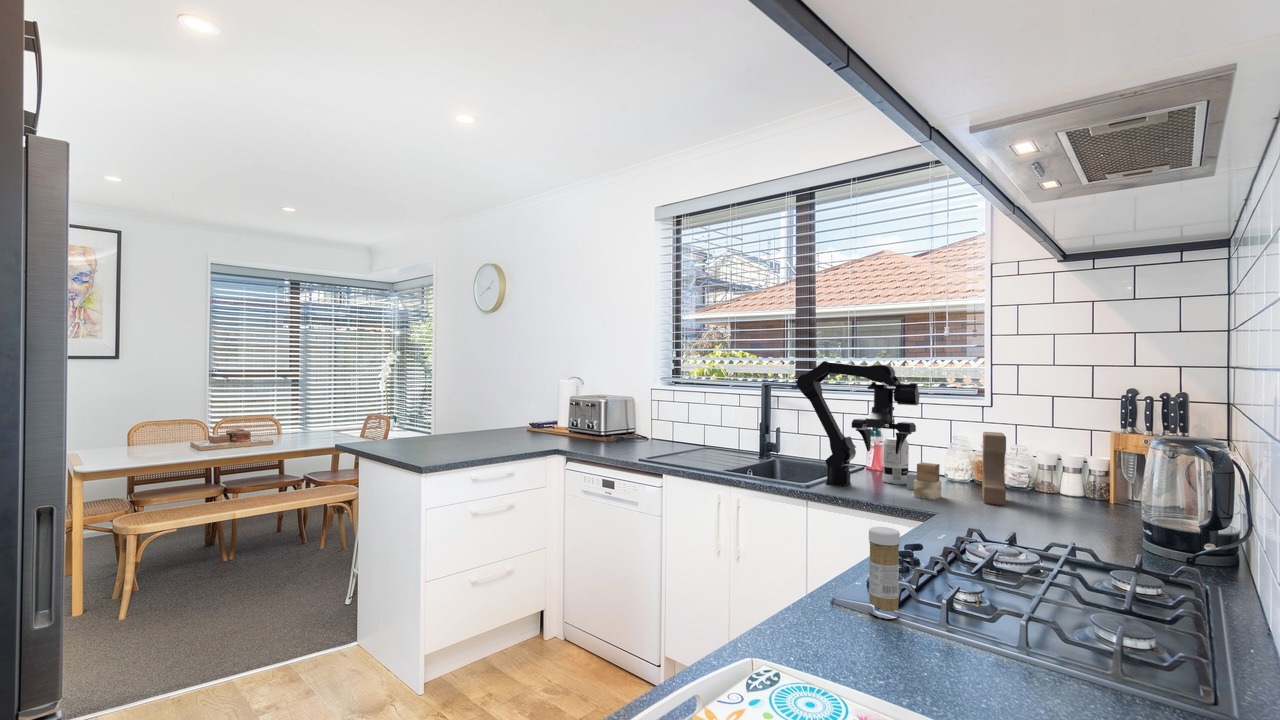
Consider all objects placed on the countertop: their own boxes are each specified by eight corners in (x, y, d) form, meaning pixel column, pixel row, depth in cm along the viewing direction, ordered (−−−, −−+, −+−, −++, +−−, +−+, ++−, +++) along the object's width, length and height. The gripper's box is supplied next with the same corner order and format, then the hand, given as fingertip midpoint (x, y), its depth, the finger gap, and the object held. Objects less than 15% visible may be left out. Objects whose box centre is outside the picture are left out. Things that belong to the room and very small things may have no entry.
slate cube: (906, 489, 199) (906, 474, 199) (908, 487, 204) (908, 471, 204) (923, 491, 197) (923, 475, 197) (924, 488, 201) (925, 473, 201)
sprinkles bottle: (896, 611, 99) (897, 526, 99) (901, 622, 94) (902, 534, 94) (866, 608, 100) (866, 524, 100) (870, 619, 95) (870, 532, 95)
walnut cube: (922, 478, 192) (922, 462, 192) (939, 480, 188) (939, 464, 188) (916, 480, 188) (916, 464, 188) (934, 482, 185) (934, 466, 185)
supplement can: (877, 480, 214) (878, 437, 214) (900, 480, 215) (900, 437, 215) (889, 484, 206) (890, 440, 206) (913, 484, 207) (913, 440, 207)
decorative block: (1005, 506, 177) (1006, 436, 177) (982, 503, 179) (983, 434, 179) (1003, 498, 186) (1004, 432, 187) (982, 496, 189) (982, 431, 189)
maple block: (913, 496, 188) (913, 480, 188) (920, 494, 192) (920, 478, 192) (934, 500, 184) (934, 483, 184) (940, 497, 188) (941, 480, 188)
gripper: (844, 403, 198) (843, 451, 198) (903, 406, 186) (902, 458, 186) (859, 401, 207) (858, 448, 206) (916, 405, 194) (916, 454, 194)
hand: (882, 452), depth 198 cm, fingers open, 9 cm apart
